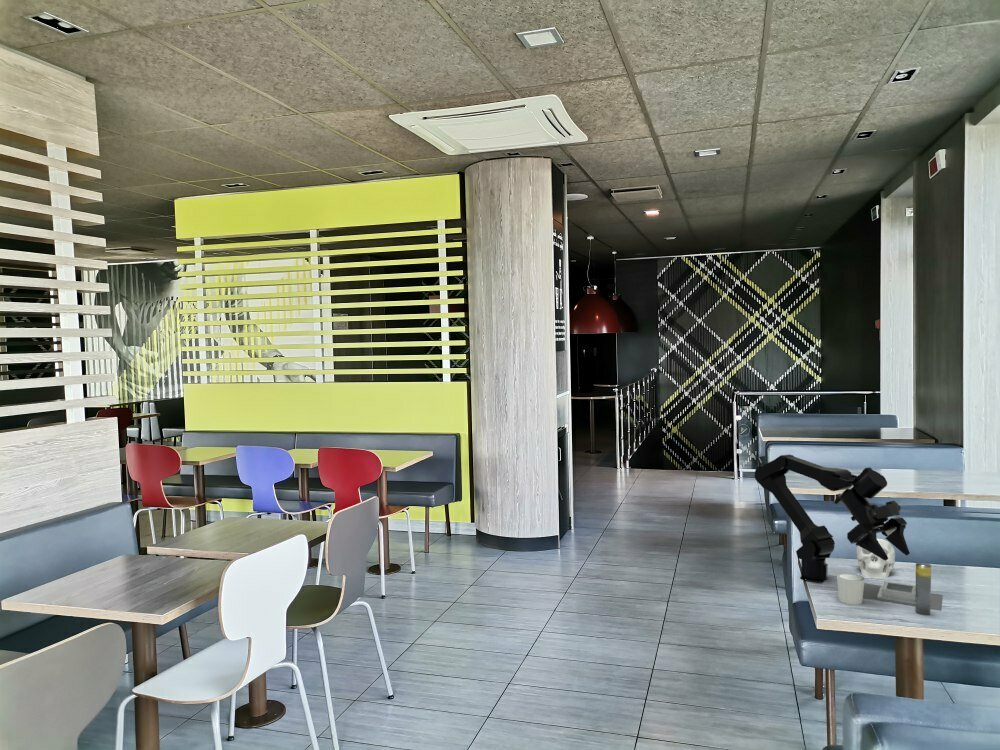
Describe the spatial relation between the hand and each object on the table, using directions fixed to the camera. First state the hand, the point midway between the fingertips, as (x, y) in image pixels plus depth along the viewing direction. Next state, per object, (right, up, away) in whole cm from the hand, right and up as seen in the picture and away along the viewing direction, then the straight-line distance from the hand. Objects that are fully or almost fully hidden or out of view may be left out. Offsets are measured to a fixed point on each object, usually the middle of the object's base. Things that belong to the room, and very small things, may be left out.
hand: (897, 557), depth 194 cm
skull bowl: (+9, -12, +29) cm, 32 cm away
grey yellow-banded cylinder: (+3, -13, -6) cm, 15 cm away
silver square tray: (+4, -12, +6) cm, 14 cm away
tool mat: (+3, -13, +7) cm, 15 cm away
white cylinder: (-11, -13, +4) cm, 18 cm away
